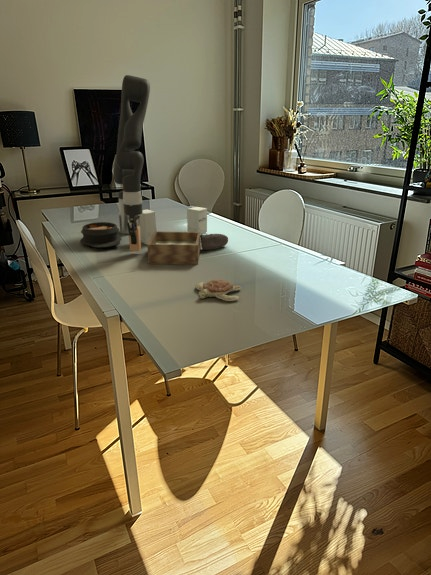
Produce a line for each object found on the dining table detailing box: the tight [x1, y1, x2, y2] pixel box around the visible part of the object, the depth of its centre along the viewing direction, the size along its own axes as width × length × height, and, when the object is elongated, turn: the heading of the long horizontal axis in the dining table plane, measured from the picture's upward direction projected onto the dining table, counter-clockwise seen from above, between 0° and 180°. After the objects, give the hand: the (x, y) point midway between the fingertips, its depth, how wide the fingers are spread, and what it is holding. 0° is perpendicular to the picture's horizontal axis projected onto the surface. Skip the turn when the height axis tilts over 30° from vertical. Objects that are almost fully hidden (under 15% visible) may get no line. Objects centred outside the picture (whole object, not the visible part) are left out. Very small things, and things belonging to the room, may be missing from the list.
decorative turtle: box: [195, 279, 242, 302], centre depth 141 cm, size 18×17×5 cm
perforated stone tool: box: [200, 233, 229, 251], centre depth 188 cm, size 15×5×7 cm, turn 120°
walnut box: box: [146, 230, 201, 265], centre depth 176 cm, size 20×20×8 cm
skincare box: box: [138, 208, 158, 246], centre depth 194 cm, size 8×6×15 cm
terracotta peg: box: [128, 226, 142, 252], centre depth 177 cm, size 4×4×10 cm
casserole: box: [80, 221, 123, 249], centre depth 193 cm, size 25×19×8 cm
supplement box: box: [186, 206, 208, 235], centre depth 211 cm, size 7×7×13 cm
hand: (135, 242), depth 178 cm, fingers closed on terracotta peg, 4 cm apart
